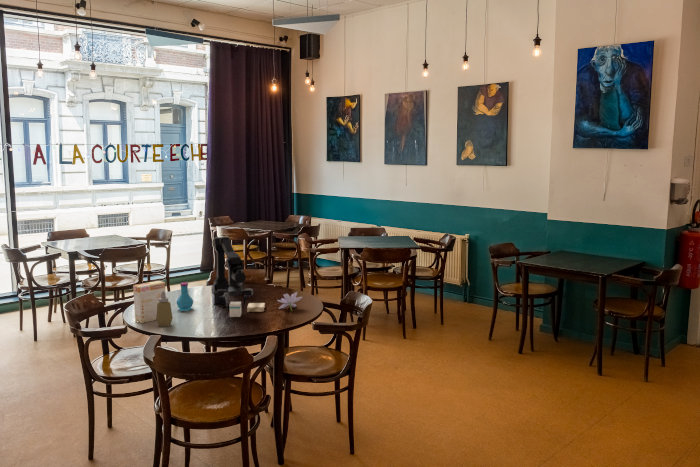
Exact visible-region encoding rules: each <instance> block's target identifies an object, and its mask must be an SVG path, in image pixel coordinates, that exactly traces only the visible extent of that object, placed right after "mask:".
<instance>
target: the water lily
mask: <svg viewBox="0 0 700 467" xmlns="http://www.w3.org/2000/svg"><path fill="white" fill-rule="evenodd" d="M297 295H298V291H296V292H294V293H292V294H291V296H290V294H288V292H287V293H284V294H283V297H284V298H283V297H281V299H277V302H279V303H281V305H280V306H279V307H278V309H279V310H280V309H284V308H287V306H289V308H290V311H291V312H293V309H292V308H296V307H297V304H296V303H297V302H298V301H300V300H301V299H303V296H298V297H297Z"/></svg>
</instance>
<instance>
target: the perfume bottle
mask: <svg viewBox="0 0 700 467" xmlns="http://www.w3.org/2000/svg"><path fill="white" fill-rule="evenodd" d="M179 285H180V291H181V292H180V293H181V294H180V295H179V297H178V299H177V300H176V301H175V302H176V305H177V307H178V308H179V310H178V311H182V312H184V311H185V312H186V311H190V310H192V307H193V304H194V300H193V298H192V297H191V296H190V294H189V293H188V292H189V290H188V286H189V283H188V282H181V283H179Z"/></svg>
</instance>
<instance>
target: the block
mask: <svg viewBox="0 0 700 467" xmlns="http://www.w3.org/2000/svg"><path fill="white" fill-rule="evenodd" d="M265 307H266V303H265V302H249V303H248V304H247V307H246V312H247V313H251V312H252V313H260V312H261V313H262V312H264V311H265V309H264V308H265Z"/></svg>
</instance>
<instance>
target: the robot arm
mask: <svg viewBox="0 0 700 467" xmlns="http://www.w3.org/2000/svg"><path fill="white" fill-rule="evenodd" d="M230 240H231V239H230V236H218V237H214V238H213V239H212V247H213V249H214V250H215V252H216V253H215V254H216V258H215V260H216V277H215V278H214V280H213V284H212V287H211V294H212V295H213V296H214V297H213V298H214V303H213V305H214V306H219V305H223V306H225V308H226V309H228V296H229V297H238V296H239V295H242V294H244V295H243V304H242V305H243V306H242V307H243V308H245V306H246V303H247V300H248V298H250V297H251V296H253V294H254V289H253V288H252V287H251V288H249V287H248V288H244V289H243V290H242V287H240V283H243V282H244V283H245V280H246V279H247V278H246V275H245V272H244V273H242V271H244V269H245V266H244V265H245V264H244V263H243V260H242V258H241V256H240V255H239V254H238V253H237V252H235V250H234V247H233V245H232V243H231V241H230ZM225 255H226V256H225ZM225 257H226V259H225ZM225 266H226V268H227V269H228V270H229V276H228V280H227V278H226V275H225V274H226V273H225V272H226V268H225ZM228 270H227V271H228ZM238 294H239V295H238Z"/></svg>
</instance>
